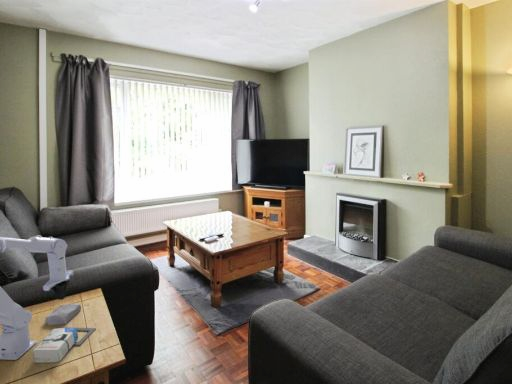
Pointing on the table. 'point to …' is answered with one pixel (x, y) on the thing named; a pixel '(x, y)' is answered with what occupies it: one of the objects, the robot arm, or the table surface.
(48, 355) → the ink box
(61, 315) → the stone block
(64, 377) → the table surface
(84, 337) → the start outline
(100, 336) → the table surface
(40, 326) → the table surface
